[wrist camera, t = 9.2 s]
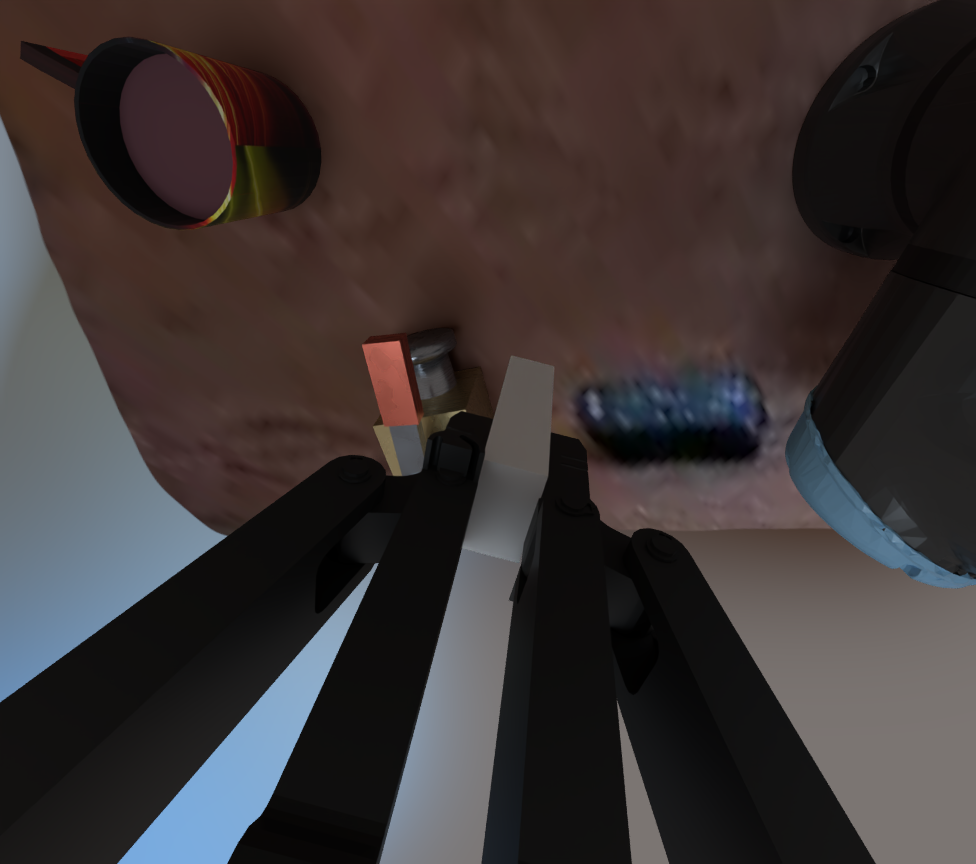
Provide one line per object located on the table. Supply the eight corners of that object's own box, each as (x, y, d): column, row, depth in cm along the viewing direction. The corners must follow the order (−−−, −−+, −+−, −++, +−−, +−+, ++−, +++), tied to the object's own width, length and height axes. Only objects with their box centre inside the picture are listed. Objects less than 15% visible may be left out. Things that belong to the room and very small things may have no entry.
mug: (137, 66, 37) (-24, 31, 27) (312, 72, 36) (214, 38, 25) (173, 205, 42) (48, 222, 31) (328, 214, 41) (252, 234, 30)
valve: (386, 339, 45) (352, 376, 38) (467, 321, 44) (449, 356, 36) (439, 484, 53) (420, 541, 45) (510, 474, 51) (502, 530, 44)
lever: (456, 478, 41) (446, 513, 37) (416, 480, 42) (401, 515, 38) (424, 318, 34) (407, 340, 30) (376, 323, 35) (353, 345, 31)
